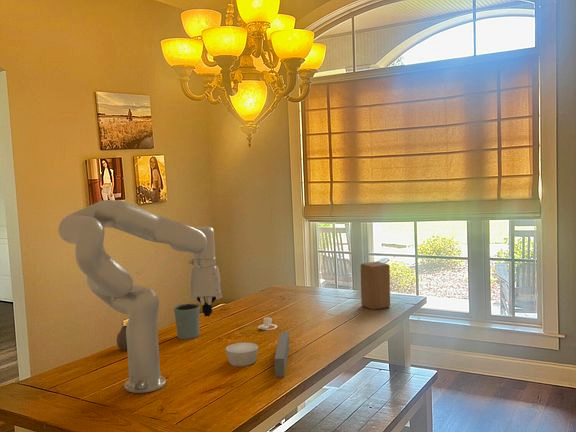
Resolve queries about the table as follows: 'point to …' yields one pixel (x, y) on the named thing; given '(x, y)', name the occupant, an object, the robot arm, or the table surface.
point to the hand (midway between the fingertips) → (207, 315)
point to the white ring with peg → (267, 324)
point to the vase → (122, 339)
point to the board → (282, 354)
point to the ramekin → (242, 354)
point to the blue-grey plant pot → (187, 320)
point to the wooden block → (375, 285)
